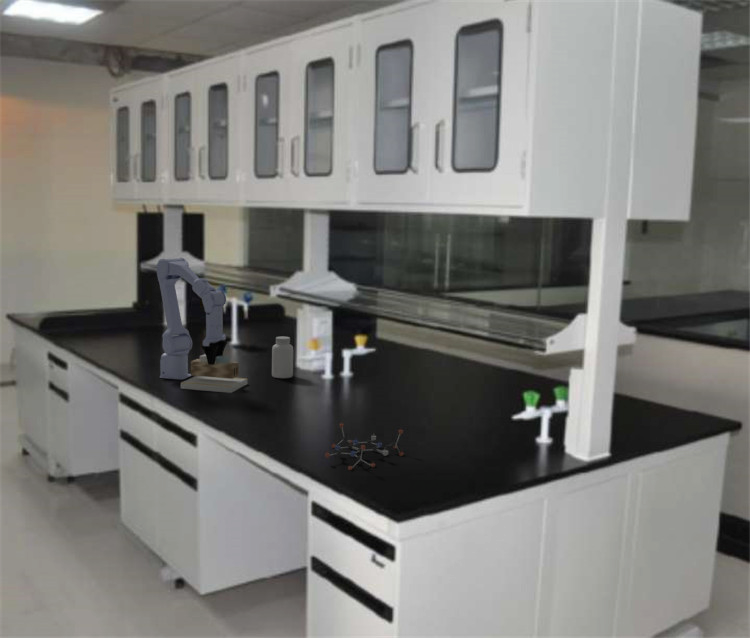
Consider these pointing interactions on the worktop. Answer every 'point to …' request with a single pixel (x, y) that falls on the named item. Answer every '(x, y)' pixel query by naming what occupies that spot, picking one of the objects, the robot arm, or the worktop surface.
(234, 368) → the tan notched block
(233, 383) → the dock
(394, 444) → the molecular model
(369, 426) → the worktop surface
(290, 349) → the pill bottle
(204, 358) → the crate
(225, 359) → the block
